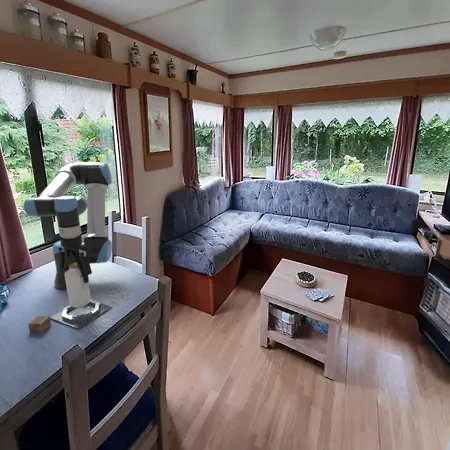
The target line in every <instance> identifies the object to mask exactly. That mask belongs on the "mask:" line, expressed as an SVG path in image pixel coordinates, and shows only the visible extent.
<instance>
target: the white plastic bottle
mask: <svg viewBox="0 0 450 450" xmlns="http://www.w3.org/2000/svg"><path fill="white" fill-rule="evenodd" d="M80 276H82V275H81V272H80V270H79V268H78V266H77V264H76V263H72V264H70V265H69V270H67V271H66V273H65V281H66V287H67V289H66V293H67V297H68V298H67V301H68V306H69V305H70V306H71V307H74V308H79V307H83V306H85V305H87V304H88V303H89V302H90V301H91V300H92V297H91V291H90V287H89V288H88V289H87V290H85V291H82V284H81V277H80ZM89 282H90V281H89ZM89 282H88V283H89ZM89 284H90V283H89Z"/></svg>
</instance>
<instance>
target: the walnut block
mask: <svg viewBox="0 0 450 450" xmlns="http://www.w3.org/2000/svg"><path fill="white" fill-rule="evenodd" d="M50 317H51V316H50V315H49V316H48V315H36V316H35V317H34V318H33V319H32V320H30V321H29V322H28V325H27V326H28V329H29V332H30V333H43V334H44V332H45V331H46V330H47V329H48V328H49V327H50V326H51V325H52V324H51V319H50Z"/></svg>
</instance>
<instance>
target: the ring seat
mask: <svg viewBox="0 0 450 450" xmlns="http://www.w3.org/2000/svg"><path fill="white" fill-rule="evenodd" d="M112 308H113V306H111V305H107V304H104V303H101V302H100V301H96V300H93V299H91V301H90V302H89V303H88V304H87V305H85V306H83V307H79V308H74V307H71V306H70V305H69V304H68V305H67V306H65V307H64V308H63V309H62V310H60V311H58V312H57V313H55V314H53V315H52V316H49V317H50V320H52V321H55V322H57V323H60V324H61V325H62V324H63V325H64V326H67V327H69V328H72V329H75V330H77V331H80V330H81V329H83V328H84V327H86V326H87V325H88V324H90V323H92V322H93V321H95V320H96V319H97V318H99V317H101V316H102V315H104V314H105V313H106V312H108V311H109V310H111V309H112Z"/></svg>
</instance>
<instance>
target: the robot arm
mask: <svg viewBox="0 0 450 450" xmlns="http://www.w3.org/2000/svg"><path fill="white" fill-rule="evenodd" d="M112 179H113V178H112V173H111V170H110V167H109V165H108V163H106V162H98V161H97V162H91V161H90V162H85V161H83V162H82V161H79V162H77V161H76V162H73V163H71V162H70V163H69V164H65V166H63V167H61V168H60V169H59V170H58V171H57V172H56V173H55V175H54V178H53V179H52V180H51V182H49V184H48V185H47V186H46V187H45V188H44V190H43V191H41V193H39V195H38V196H37V197H29V198H25V200H24V203H23V210H24V213H25V214H26V215H27V216H29V217H56V219H57V220H56V221H57V222H56V223H57V226H58V233H59V236H60V237H59V241H57V242H55V243H54V244H53V246H52V251H53V252H52V255H53V258H54V259H53V260H54V264H55V271H56V272H55V277H54V287H55V288H56V289H58V290H67V287H66V281H65V273H66V271H67V270H69V265H70V264H72V263H76V264H77V266H78V268H79V270H80V272H81V275H82V276H80V277H81V284H82V291H85V290H87V289H88V288H89V289H90V283H88V282H90V280H89V278H90V277H89V275H92V274H93V272H92V268H91V264H92V265H93V264H102V263H103V264H104V263H108V262H109V260H110V259H111V256H112V252H113V251H112V250H113V246H112V245H113V243H112V241H111V240H110V239H109V236H108V235H107V234H106V191H107V189H109V185H111V184H112V182H113V180H112ZM75 185H84V188H85V189H86V190H87V198H85V197H84V196H80V195H74V196H72V195H65V194H66V193H67V192H68V190H69V189H70V188H72V187H73V186H75ZM86 210H87V215H86V217H87V218H86V219H87V221H86V222H87V224H86V234H85V236H83V237H82V235H81V234H82V230H81V222H80V215H82V214H83V213H85V212H86Z"/></svg>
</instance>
